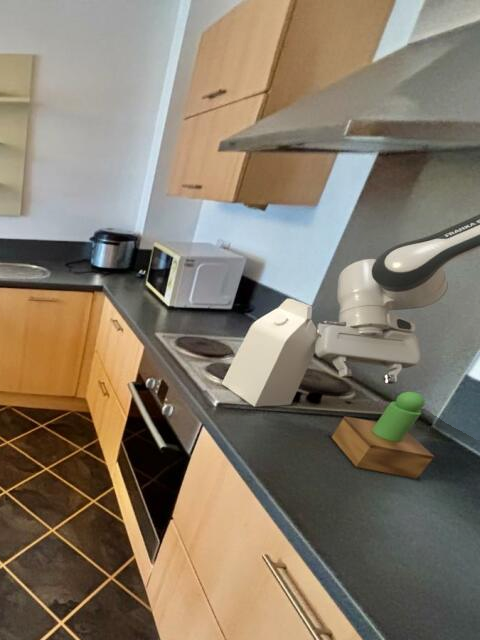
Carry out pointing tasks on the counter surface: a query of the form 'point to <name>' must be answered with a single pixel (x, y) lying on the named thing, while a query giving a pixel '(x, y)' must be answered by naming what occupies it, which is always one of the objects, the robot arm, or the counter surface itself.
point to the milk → (274, 356)
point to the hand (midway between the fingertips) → (367, 379)
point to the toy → (399, 416)
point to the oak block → (380, 449)
